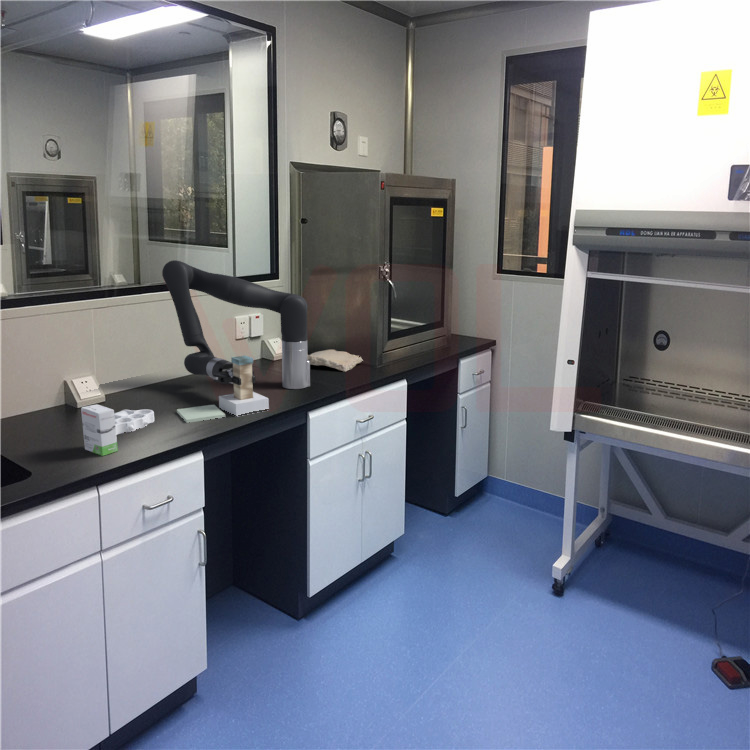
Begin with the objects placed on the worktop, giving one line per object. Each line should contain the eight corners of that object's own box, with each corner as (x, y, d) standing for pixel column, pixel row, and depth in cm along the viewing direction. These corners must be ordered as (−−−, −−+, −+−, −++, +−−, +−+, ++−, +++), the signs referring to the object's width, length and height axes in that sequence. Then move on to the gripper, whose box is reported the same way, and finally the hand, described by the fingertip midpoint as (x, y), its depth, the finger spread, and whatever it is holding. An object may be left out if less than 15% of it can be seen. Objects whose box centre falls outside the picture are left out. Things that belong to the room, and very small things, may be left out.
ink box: (118, 451, 178) (115, 409, 175) (101, 456, 174) (97, 413, 172) (100, 444, 183) (97, 403, 180) (83, 449, 179) (79, 407, 177)
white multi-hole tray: (131, 415, 210) (165, 423, 203) (82, 431, 195) (117, 440, 188) (130, 405, 209) (164, 412, 202) (80, 420, 194) (116, 429, 187)
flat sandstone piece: (341, 376, 265) (365, 362, 282) (339, 358, 263) (363, 345, 280) (290, 371, 276) (316, 357, 293) (288, 354, 274) (314, 341, 291)
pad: (214, 407, 218) (214, 404, 218) (225, 417, 208) (225, 414, 208) (176, 412, 212) (176, 409, 212) (186, 422, 202) (186, 419, 202)
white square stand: (250, 402, 225) (250, 390, 224) (268, 410, 216) (268, 398, 215) (219, 408, 218) (218, 396, 217) (236, 416, 209) (236, 404, 208)
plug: (246, 405, 220) (245, 355, 216) (254, 409, 217) (253, 358, 213) (233, 408, 217) (231, 357, 213) (240, 412, 214) (239, 360, 209)
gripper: (201, 362, 220) (226, 372, 207) (240, 356, 229) (266, 366, 216) (202, 384, 222) (227, 395, 209) (241, 378, 231) (267, 388, 218)
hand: (247, 380), depth 213 cm, fingers closed on plug, 4 cm apart
